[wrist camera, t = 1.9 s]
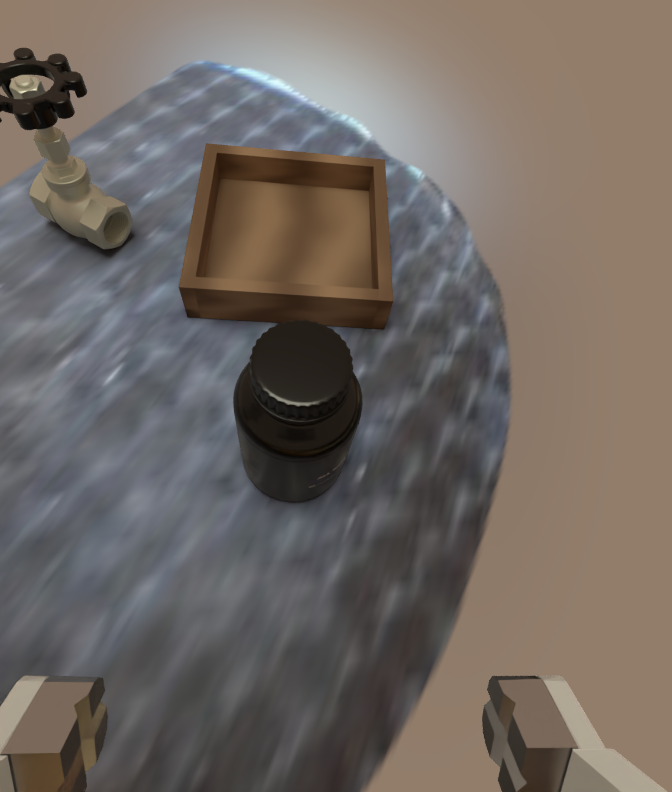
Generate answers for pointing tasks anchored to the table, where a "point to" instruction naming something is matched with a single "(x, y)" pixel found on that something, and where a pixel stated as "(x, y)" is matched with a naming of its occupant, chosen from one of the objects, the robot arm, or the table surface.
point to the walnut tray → (289, 239)
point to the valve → (60, 151)
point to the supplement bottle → (297, 410)
